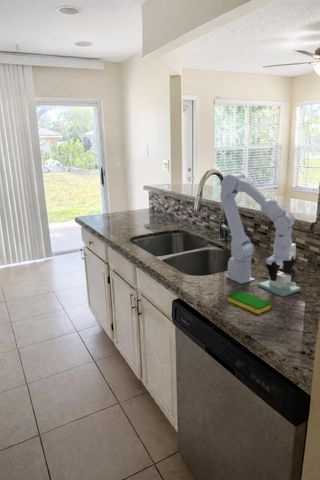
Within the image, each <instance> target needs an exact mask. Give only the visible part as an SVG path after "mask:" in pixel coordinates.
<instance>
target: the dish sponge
mask: <svg viewBox="0 0 320 480" xmlns="http://www.w3.org/2000/svg"><path fill="white" fill-rule="evenodd" d="M227 301H228V302H230V303H232V304H235V305H237V306H240V307H242V308H244V309H246V310H248V311H250V312H253V313H255V314H256V315H257V314H262V313H264V312H266V311H268V310H270V309H271V307H272V305H271V304H272V303H271V302H269V301H267V300H265V299H262V298H260V297H256V296H255V295H252V294H249V293H247V292H245V291H243V290H238V291H236V292H233V293H230V294H228V295H227Z"/></svg>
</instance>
